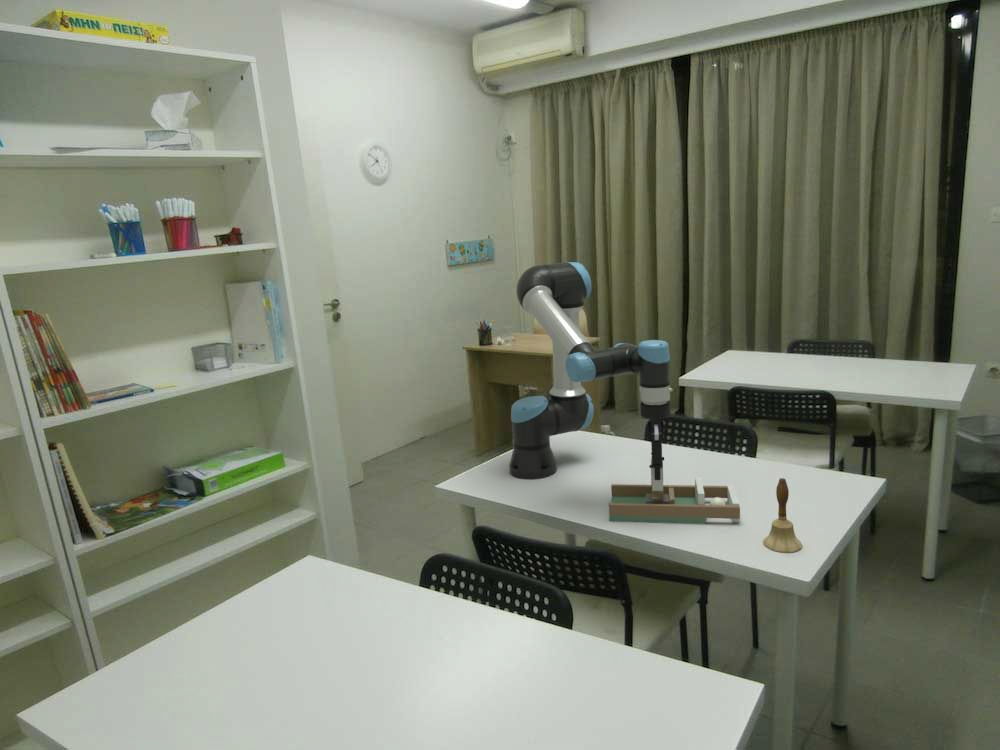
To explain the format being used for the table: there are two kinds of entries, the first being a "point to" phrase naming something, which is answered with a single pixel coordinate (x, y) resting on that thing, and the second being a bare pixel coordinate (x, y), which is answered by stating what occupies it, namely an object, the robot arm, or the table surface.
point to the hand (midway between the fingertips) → (657, 487)
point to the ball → (717, 501)
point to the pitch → (687, 507)
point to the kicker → (660, 495)
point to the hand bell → (782, 525)
